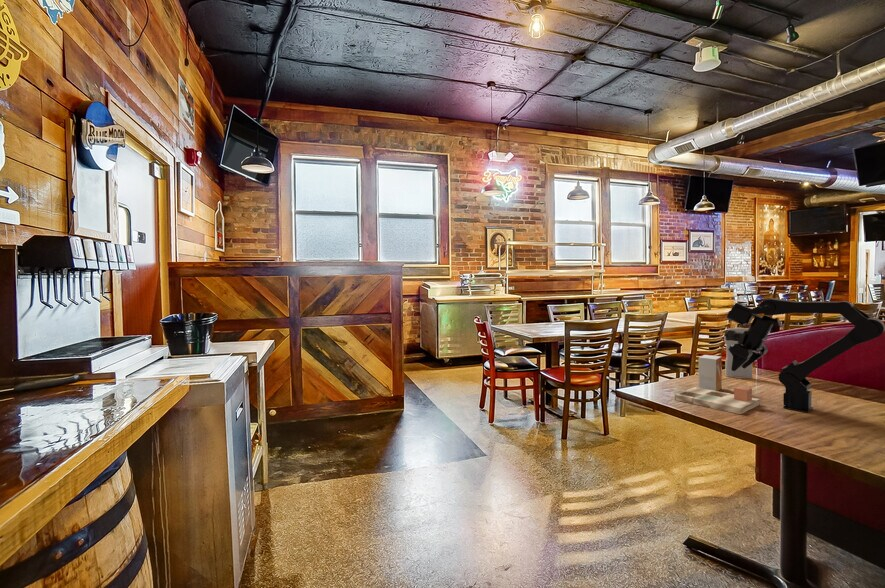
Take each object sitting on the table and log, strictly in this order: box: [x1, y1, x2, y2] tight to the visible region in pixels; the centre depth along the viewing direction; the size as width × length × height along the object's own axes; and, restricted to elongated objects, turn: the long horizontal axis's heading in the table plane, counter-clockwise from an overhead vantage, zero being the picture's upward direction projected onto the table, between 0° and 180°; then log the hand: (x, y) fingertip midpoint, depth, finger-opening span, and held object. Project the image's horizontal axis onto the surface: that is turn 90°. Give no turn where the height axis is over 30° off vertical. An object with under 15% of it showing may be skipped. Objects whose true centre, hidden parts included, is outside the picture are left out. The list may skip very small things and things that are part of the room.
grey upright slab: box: [723, 327, 754, 380], centre depth 187 cm, size 11×4×22 cm, turn 61°
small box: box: [698, 354, 723, 391], centre depth 170 cm, size 8×6×13 cm
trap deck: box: [674, 386, 761, 415], centre depth 154 cm, size 21×16×2 cm
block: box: [733, 385, 753, 402], centre depth 150 cm, size 4×4×4 cm
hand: (738, 369), depth 157 cm, fingers open, 9 cm apart
